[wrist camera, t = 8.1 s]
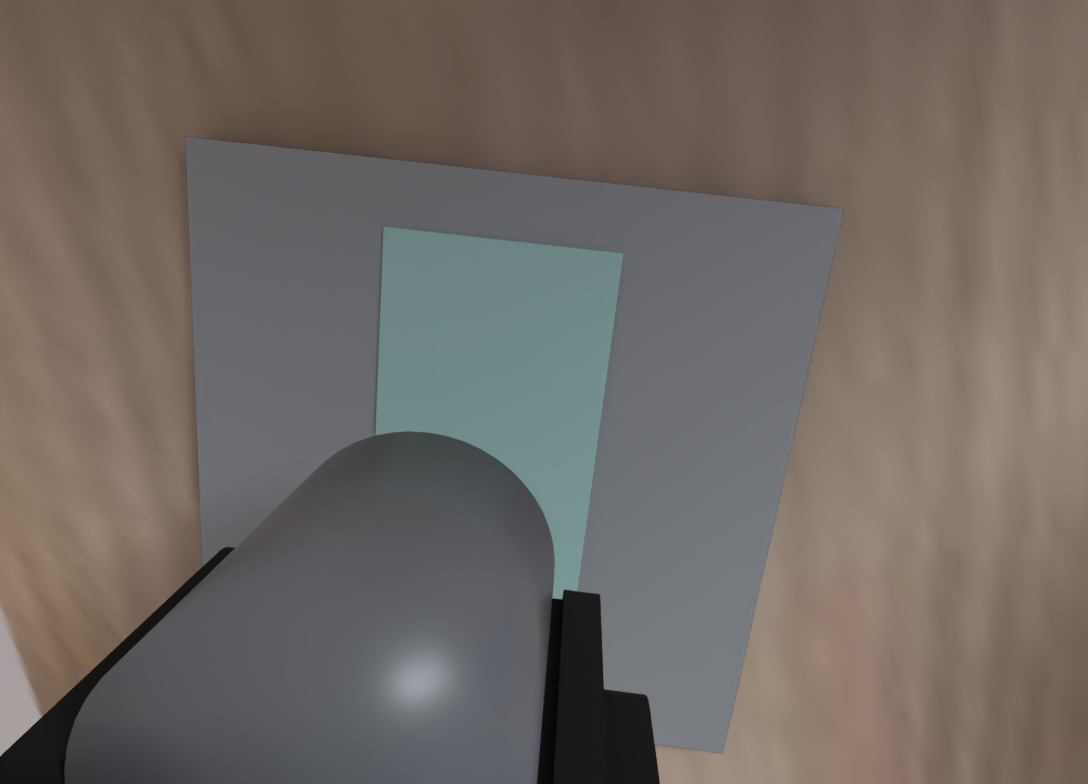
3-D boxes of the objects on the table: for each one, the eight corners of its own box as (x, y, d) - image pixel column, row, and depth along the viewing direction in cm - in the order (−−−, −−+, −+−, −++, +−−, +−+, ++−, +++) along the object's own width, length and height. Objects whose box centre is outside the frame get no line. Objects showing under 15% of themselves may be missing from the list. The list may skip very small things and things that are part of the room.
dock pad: (830, 208, 15) (845, 208, 14) (717, 730, 18) (723, 756, 18) (205, 140, 15) (182, 136, 14) (222, 663, 19) (205, 685, 18)
